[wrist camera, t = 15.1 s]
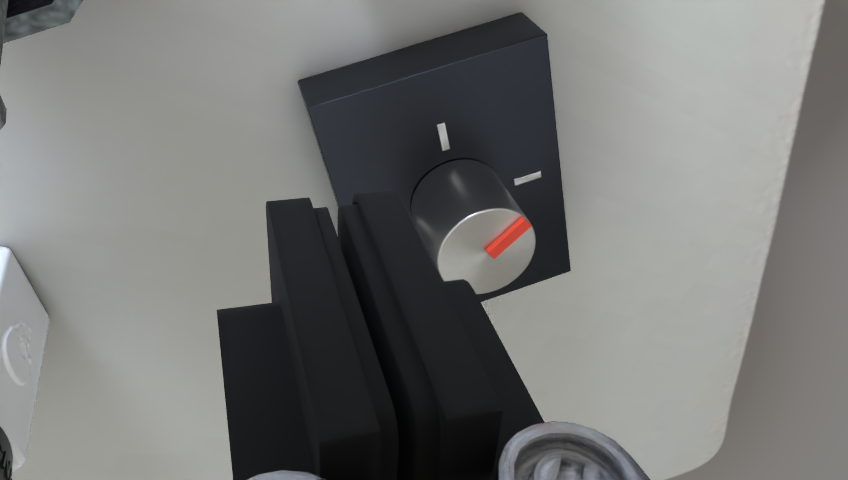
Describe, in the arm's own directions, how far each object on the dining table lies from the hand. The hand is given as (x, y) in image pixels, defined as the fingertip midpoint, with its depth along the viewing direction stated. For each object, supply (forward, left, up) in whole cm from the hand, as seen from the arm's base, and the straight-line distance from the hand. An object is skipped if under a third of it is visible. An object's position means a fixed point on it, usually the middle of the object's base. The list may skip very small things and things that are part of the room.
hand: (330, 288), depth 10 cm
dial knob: (+13, +10, -22) cm, 27 cm away
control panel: (+13, +10, -25) cm, 30 cm away
